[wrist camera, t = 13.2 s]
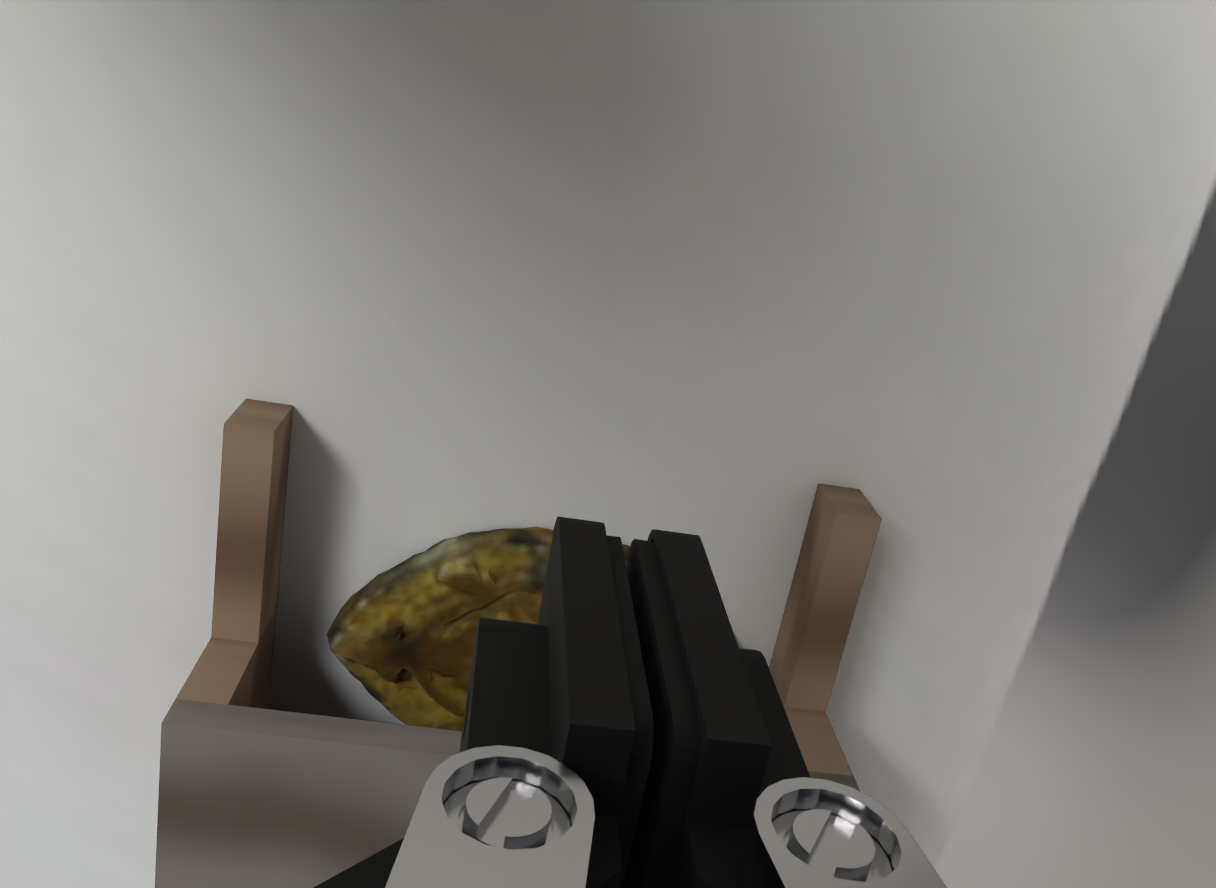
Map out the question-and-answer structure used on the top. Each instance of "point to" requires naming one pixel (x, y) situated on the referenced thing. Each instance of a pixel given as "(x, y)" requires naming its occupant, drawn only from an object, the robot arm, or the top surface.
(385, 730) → the wooden step block
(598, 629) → the robot arm
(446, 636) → the mottled yellow-brown oval piece
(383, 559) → the top surface
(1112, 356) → the top surface
